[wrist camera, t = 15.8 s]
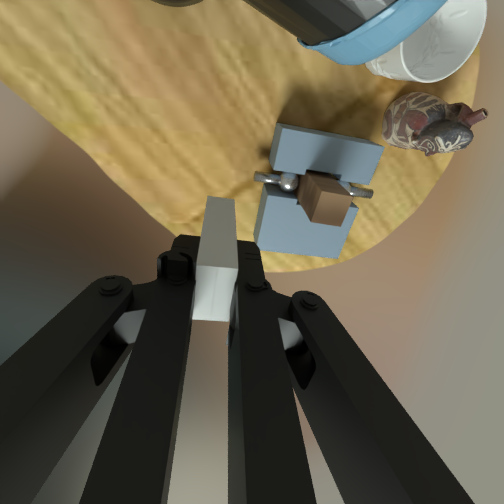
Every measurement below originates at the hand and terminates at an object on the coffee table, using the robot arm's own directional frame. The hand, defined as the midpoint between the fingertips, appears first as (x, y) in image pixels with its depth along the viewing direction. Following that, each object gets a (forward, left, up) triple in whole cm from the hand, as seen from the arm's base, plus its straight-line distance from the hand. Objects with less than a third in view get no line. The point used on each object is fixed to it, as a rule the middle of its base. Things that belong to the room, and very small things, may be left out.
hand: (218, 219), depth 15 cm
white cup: (-14, +19, -27) cm, 36 cm away
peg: (+4, +14, -26) cm, 30 cm away
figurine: (-6, +25, -27) cm, 37 cm away
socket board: (+6, +14, -26) cm, 30 cm away
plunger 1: (+4, +8, -25) cm, 27 cm away
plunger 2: (+4, +20, -25) cm, 32 cm away
